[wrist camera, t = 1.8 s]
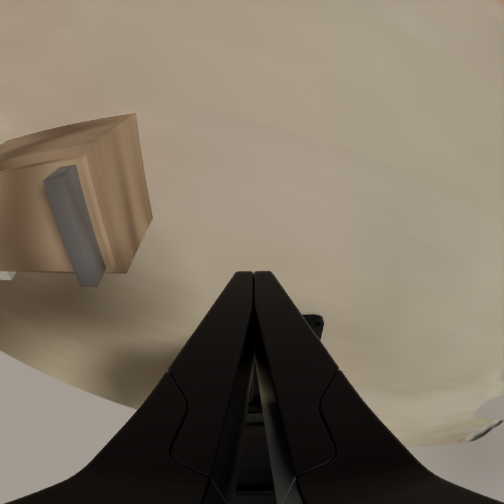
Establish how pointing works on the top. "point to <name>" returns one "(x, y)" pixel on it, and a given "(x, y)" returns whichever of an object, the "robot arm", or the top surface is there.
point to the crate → (74, 199)
